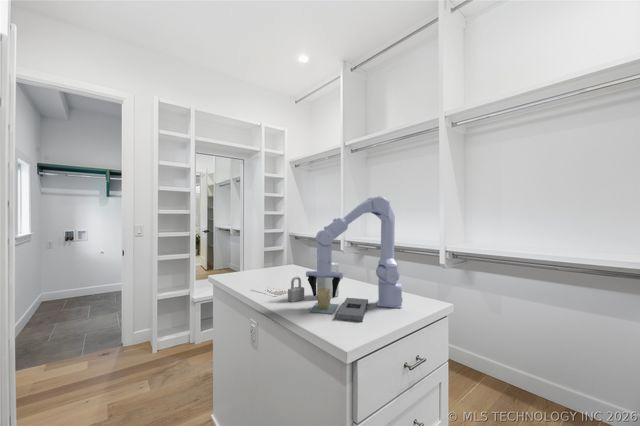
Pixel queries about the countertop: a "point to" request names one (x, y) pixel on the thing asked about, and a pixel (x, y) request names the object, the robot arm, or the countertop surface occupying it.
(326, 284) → the skincare box
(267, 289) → the grooming comb
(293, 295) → the padlock
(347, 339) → the countertop surface
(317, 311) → the rubber mat
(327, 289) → the tan rectangular block
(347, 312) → the grey slotted base plate
